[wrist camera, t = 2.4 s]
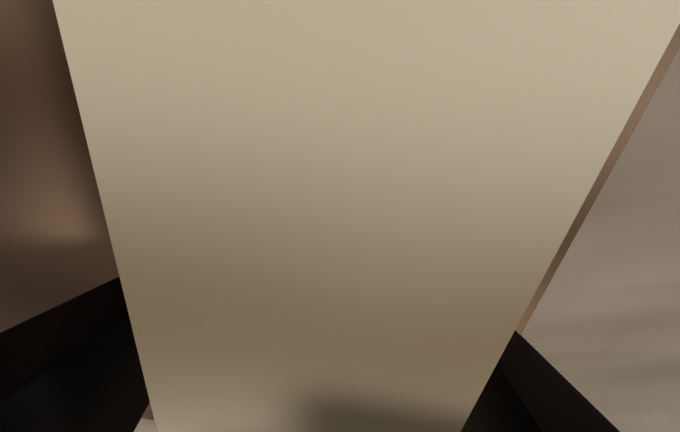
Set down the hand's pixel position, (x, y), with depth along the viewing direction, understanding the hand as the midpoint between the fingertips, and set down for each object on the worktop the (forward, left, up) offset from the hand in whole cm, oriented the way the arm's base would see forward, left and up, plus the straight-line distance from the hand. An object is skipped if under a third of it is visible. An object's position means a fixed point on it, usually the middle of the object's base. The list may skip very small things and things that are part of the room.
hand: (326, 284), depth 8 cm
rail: (+2, 0, -1) cm, 2 cm away
